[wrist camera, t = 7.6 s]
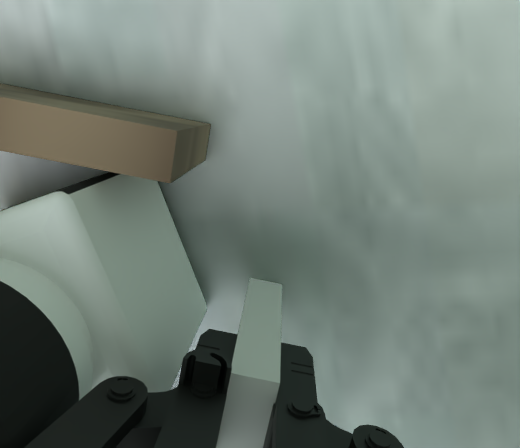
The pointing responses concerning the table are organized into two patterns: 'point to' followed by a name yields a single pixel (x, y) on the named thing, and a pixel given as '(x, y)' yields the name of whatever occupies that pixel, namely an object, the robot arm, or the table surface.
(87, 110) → the box
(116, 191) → the medicine bottle
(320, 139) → the table surface
